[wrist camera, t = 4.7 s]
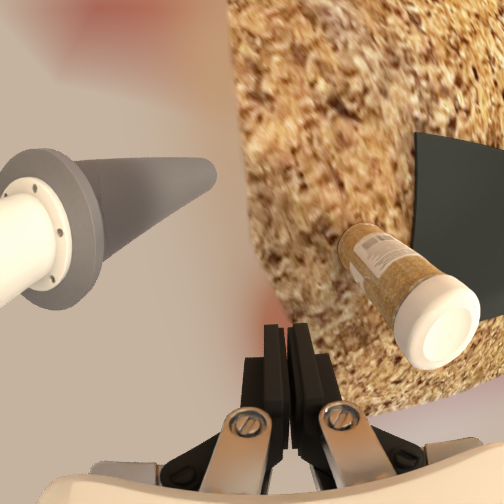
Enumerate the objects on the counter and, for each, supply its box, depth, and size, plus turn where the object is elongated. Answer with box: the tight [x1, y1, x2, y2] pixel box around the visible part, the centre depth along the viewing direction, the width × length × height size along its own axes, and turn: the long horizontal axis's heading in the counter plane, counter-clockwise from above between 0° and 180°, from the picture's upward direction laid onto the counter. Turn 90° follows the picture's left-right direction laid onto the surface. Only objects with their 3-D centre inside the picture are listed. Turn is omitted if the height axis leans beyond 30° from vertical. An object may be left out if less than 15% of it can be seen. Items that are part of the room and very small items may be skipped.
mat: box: [411, 132, 504, 321], centre depth 22 cm, size 18×20×1 cm
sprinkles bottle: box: [338, 223, 480, 370], centre depth 16 cm, size 5×5×13 cm
